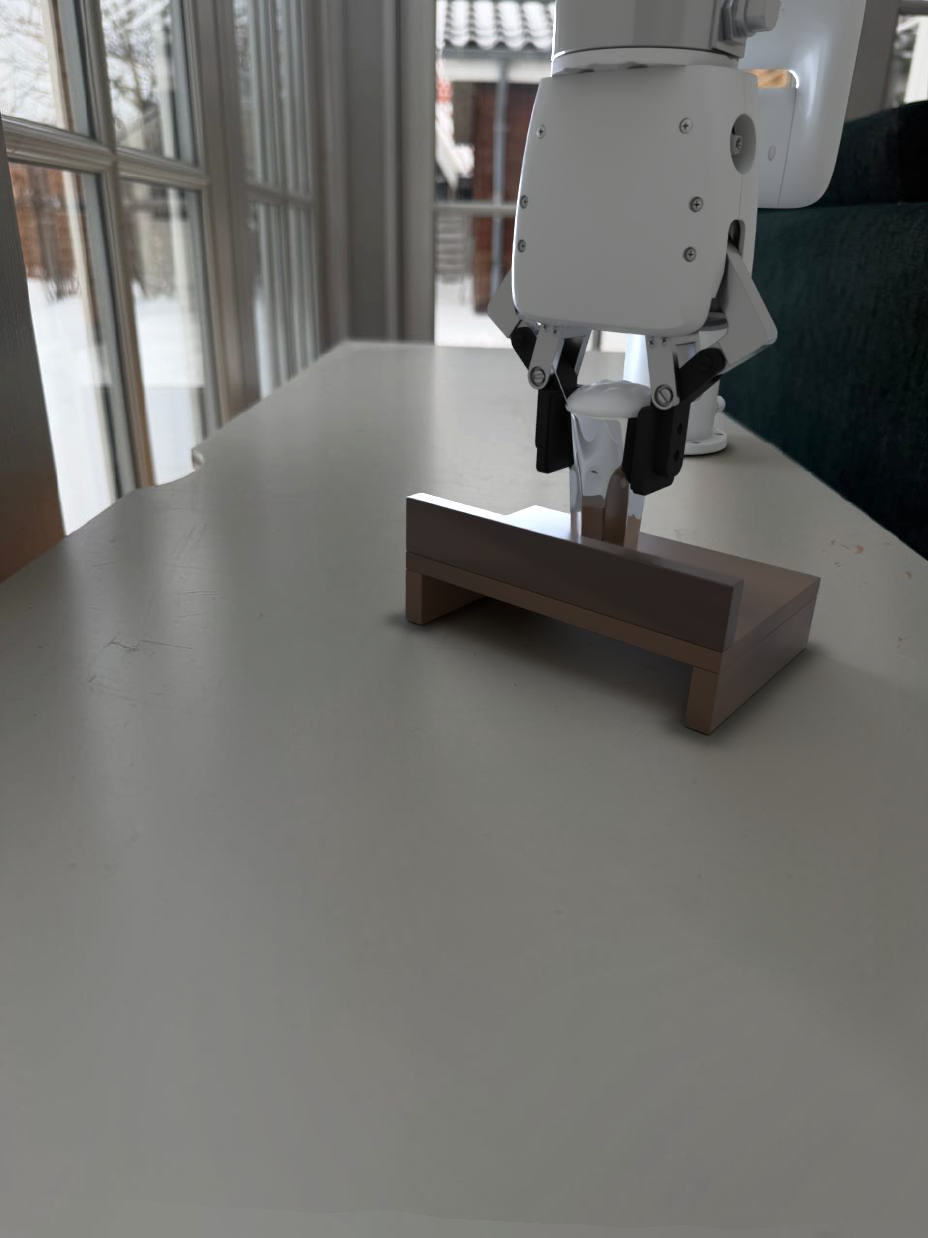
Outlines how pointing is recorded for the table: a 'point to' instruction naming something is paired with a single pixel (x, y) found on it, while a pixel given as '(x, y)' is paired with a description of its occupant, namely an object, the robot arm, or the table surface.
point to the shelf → (616, 593)
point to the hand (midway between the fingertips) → (604, 474)
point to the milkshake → (604, 460)
